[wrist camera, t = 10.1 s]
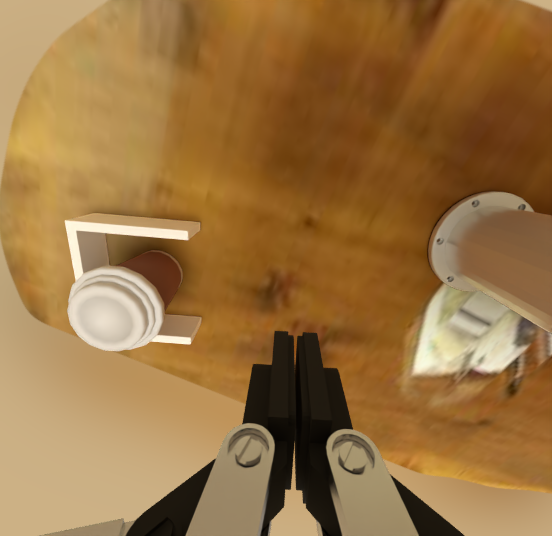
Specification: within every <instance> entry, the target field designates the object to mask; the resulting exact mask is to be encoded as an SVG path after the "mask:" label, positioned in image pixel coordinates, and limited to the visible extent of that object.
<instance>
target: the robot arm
mask: <svg viewBox="0 0 552 536" xmlns="http://www.w3.org/2000/svg"><path fill="white" fill-rule="evenodd" d="M428 257H429V262H430V266H431V268H432V270H433V272H434V273H435V275H436V276H437V277H438V278H439V279H440V280H441V281H443V282H444V283H445V284H447V285H449V286H450V287H452V288H454V289H458V290H461V291H471V292H472V291H482V292H484V293H485V294H487V295H489V296H490V297H492V298H493V299H495V300H497V301H498V302H500V303H502V304H503V305H505V306H506V307H508V308H510V309H511V310H513V311H515V312H516V313H518V314H520V315H521V316H523V317H524V318H526V319H528V320H529V321H531V322H533V323H534V324H536V325H537V326H539V327H541V328H542V329H544V330H546V331H547V332H549V333H551V334H552V215H547V214H541V213H536V212H534V210H533V209H532V208H531V206H530V205H529V204H528V203H527V202H526V201H525V200H523V199H522V198H520V197H518V196H516V195H514V194H510V193H505V192H496V191H491V192H482V193H478V194H475V195H472V196H469V197H467V198H465V199H463V200H461V201H460V202H458V203H457V204H455V205H454V206H452V207H451V208H450V209H449V210H448V211H447V212H446V213H445V214H444V215H443V216H442V218H441V219H440V220H439V222H438V223H437V225H436V227H435V228H434V230H433V232H432V235H431V238H430V241H429V247H428ZM294 441H295V470H296V471H295V474H296V490H302V493H303V503H305V504H306V508H307V510H308V511H309V512H310V513H311V514H312V515H313V517H314V518H315V519H316V522H317V531H318V536H464V535H463V534H462V533H461V532H460V531H458V530H457V529H456V528H455V527H454V526H452V525H451V524H450V523H449V522H448V521H446V520H445V519H444V518H443V517H441V516H440V515H439V514H438V513H437V512H435V511H434V510H433V509H432V508H430V507H429V506H428V505H427V504H426V503H424V502H423V501H422V500H421V499H419V498H418V497H417V496H416V495H415V494H413V493H412V492H411V491H410V490H409V489H407V488H406V487H405V486H403V485H402V484H401V483H400V482H399V481H398V480H396V479H395V478H394V477H393V476H391V475H390V474H389V472H388V469H387V467H386V465H385V463H384V461H383V459H382V457H381V454H380V452H379V450H378V449H377V447H376V446H375V444H374V443H373V442H372V441H371V440H370V439H369V438H368V437H367V436H365V435H364V434H362V433H360V432H358V431H355V430H353V427H352V423H351V419H350V415H349V411H348V407H347V403H346V399H345V395H344V391H343V387H342V383H341V379H340V375H339V372H338V369H337V368H323V364H322V358H321V353H320V347H319V341H318V336H317V333H306V332H303V336H298V337H297V350H296V364H295V365H294V337H293V336H292V335H288V332H286V331H275V334H274V347H273V360H272V365H264V364H253V367H252V372H251V378H250V384H249V389H248V395H247V401H246V406H245V413H244V418H243V423H242V425H239V426H237V427H235V428H234V429H232V430H231V431H230V432H229V433H228V434H227V436H226V437H225V439H224V441H223V443H222V445H221V448H220V451H219V453H218V455H217V458H216V459H214V460H213V461H212V462H210V463H209V464H208V465H206V466H205V467H204V468H202V469H201V470H200V471H198V472H197V473H196V474H194V475H193V476H192V477H191V478H189V479H188V480H186V481H185V482H184V483H182V484H181V485H180V486H178V487H177V488H176V489H174V491H172V492H170V493H169V494H168V495H167V496H165V497H164V498H163V499H161V500H160V501H159V502H157V503H156V504H155V505H153V506H152V507H151V508H149V509H148V510H147V511H145V512H144V513H143V514H142V515H141V516H140V517H139V518H138V519H137V520H135V521H131V522H126V523H124V519H118V520H113V521H109V522H104V523H99V524H94V525H89V526H85V527H79V528H75V529H70V530H65V531H60V532H55V533H50V534H45V535H40V536H269V535H270V529H271V520H272V519H273V518H274V517H275V516H276V515H277V514H278V513H279V512H280V510H281V509H282V508H283V507H284V500H285V499H284V498H285V489H288V490H290V489H291V479H292V467H293V453H294Z"/></svg>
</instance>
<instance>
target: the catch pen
mask: <svg viewBox="0 0 552 536" xmlns="http://www.w3.org/2000/svg"><path fill="white" fill-rule="evenodd" d="M65 224H66V230H67V235H68V241H69V246H70V252H71V257H72V263H73V268H74V274H75V279H76V281H77V280H78V279H79V278H80V277H81V276H82V275H83V274H84V273H85V272H87V271H89V270H92V269H95V268H98V267H101V266H104V265H106V266H110V265H109V257H108V249H107V242H106V234H105V233H111V234H123V235H134V236H146V237H158V238H169V239H181V240H189V239H190V238H191V237H193V236H194V235H195V234H196V233H198V232H199V231H200V222H193V221H181V220H170V219H158V218H147V217H136V216H124V215H113V214H102V213H92V214H88V215H84V216H80V217H76V218H72V219H68V220H65ZM200 325H201V317H196V316H183V315H171V314H165V320H164V323H163V325H162V328H161V330H160V332H159V334H158V335H157V336H156V337H155V338H153V339H152V340H151V341H153V342H166V343H179V344H191V343H192V341H193V339H194V337H195V335H196V333H197V331H198V329H199V327H200Z"/></svg>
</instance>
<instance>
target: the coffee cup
mask: <svg viewBox="0 0 552 536" xmlns="http://www.w3.org/2000/svg"><path fill="white" fill-rule="evenodd" d="M182 280H183V272H182V268H181V266H180V264H179V262H178V261H177V260H176V259H175V258H174V257H173V256H172V255H170V254H168V253H166V252H164V251H159V250H151V251H148V252H145V253H142V254H141V255H139V256H136V257H134V258H132V259H130V260H127V261H125V262H123V263H121V264H119V265H116V266H106V265H104V266H101V267H98V268H95V269H92V270H89V271H87V272H85V273H84V274H83V275H82V276H81V277H80V278H79V279H78V280H77V281H76V282H75V283H74V284H73V285H72V288H71V292H70V296H69V300H68V301H69V306H68V310H67V312H68V316H69V321H70V324H71V326H72V327H73V329H74V330H75V332H76V333H77V335H78V336H79V337H80V338H82V339H83V340H84V341H86V342H87V343H88V344H89V345H92V346H94V347H97V348H100V349H102V350H107V351H121V350H125V349H127V350H130V349H134V348H137V347H141V346H144V345H146V344H148V343H149V342H150V341H151V340H152V339H153V338H155V337H156V336H157V335H158V334H159V332H160V330H161V328H162V325H163V323H164V320H165V310H166V308H167V307H168V305H169V303H170V302H171V300H172V298H173V296H174V295H175V293H176V291H177V290H178V288H179V287H180V285H181V282H182Z"/></svg>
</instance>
